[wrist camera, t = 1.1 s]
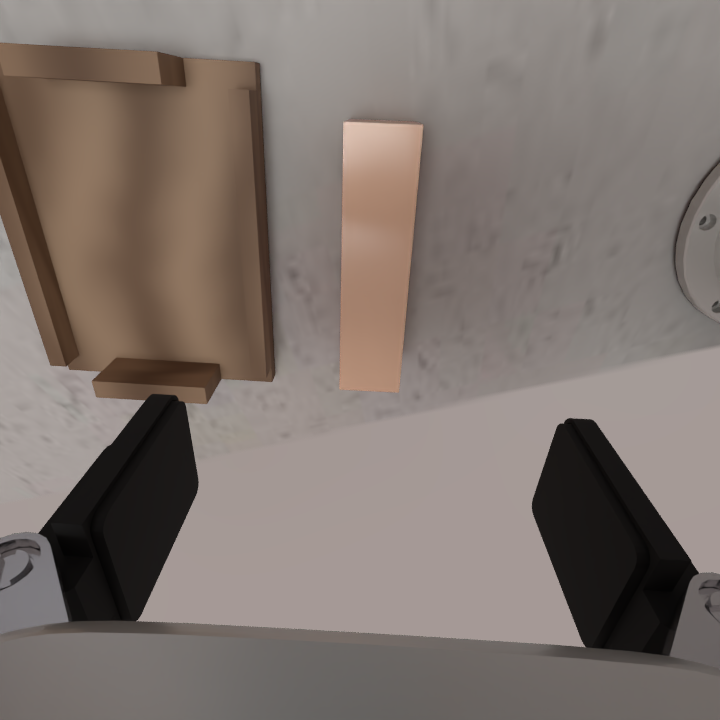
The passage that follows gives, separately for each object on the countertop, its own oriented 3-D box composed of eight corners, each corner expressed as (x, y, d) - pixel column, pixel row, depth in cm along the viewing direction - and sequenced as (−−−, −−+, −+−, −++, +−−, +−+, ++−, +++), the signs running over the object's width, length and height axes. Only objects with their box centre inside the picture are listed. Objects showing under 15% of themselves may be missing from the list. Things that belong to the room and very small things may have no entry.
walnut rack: (259, 63, 23) (238, 56, 19) (275, 374, 32) (262, 407, 28) (-16, 47, 23) (-87, 37, 19) (77, 362, 32) (41, 393, 28)
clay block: (415, 121, 24) (423, 125, 20) (396, 351, 31) (398, 392, 27) (349, 118, 24) (343, 121, 20) (344, 349, 31) (339, 389, 27)
